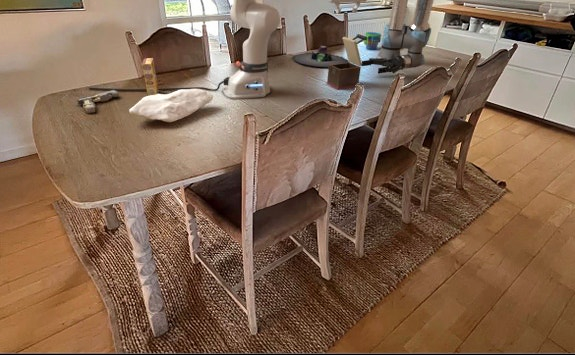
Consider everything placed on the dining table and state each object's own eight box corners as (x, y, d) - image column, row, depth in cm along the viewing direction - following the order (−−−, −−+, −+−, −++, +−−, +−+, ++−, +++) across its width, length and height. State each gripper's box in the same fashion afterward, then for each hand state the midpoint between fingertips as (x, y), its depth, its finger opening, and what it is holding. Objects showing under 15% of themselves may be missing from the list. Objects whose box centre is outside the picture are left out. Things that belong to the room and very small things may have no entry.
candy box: (157, 97, 164) (152, 63, 155) (147, 98, 163) (141, 63, 155) (158, 91, 171) (153, 57, 163) (149, 91, 170) (143, 58, 162)
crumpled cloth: (117, 110, 146) (113, 90, 140) (195, 92, 166) (194, 73, 160) (143, 139, 134) (140, 118, 128) (223, 116, 154) (224, 96, 148)
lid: (354, 42, 173) (368, 32, 175) (342, 38, 180) (355, 29, 182) (360, 66, 182) (373, 57, 184) (348, 61, 189) (361, 53, 191)
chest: (337, 89, 183) (339, 69, 177) (326, 83, 190) (328, 64, 184) (358, 86, 188) (360, 67, 183) (346, 80, 195) (349, 62, 190)
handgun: (128, 97, 156) (111, 87, 164) (86, 107, 144) (70, 97, 152) (129, 103, 157) (113, 94, 165) (88, 114, 146) (72, 103, 154)
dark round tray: (359, 62, 224) (361, 47, 219) (315, 70, 207) (315, 53, 202) (323, 53, 249) (324, 39, 244) (281, 59, 231) (281, 44, 227)
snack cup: (373, 45, 267) (376, 31, 261) (384, 49, 259) (386, 34, 254) (358, 48, 259) (360, 32, 254) (368, 51, 252) (370, 35, 246)
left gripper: (335, -20, 155) (332, 15, 162) (372, -21, 164) (367, 13, 171) (326, -22, 160) (324, 12, 167) (363, -22, 168) (359, 11, 176)
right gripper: (415, 76, 194) (384, 81, 185) (383, 63, 212) (354, 67, 203) (418, 61, 190) (387, 66, 181) (386, 50, 208) (356, 54, 199)
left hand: (346, 13), depth 169 cm, fingers open, 8 cm apart
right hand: (370, 67), depth 192 cm, fingers open, 13 cm apart
